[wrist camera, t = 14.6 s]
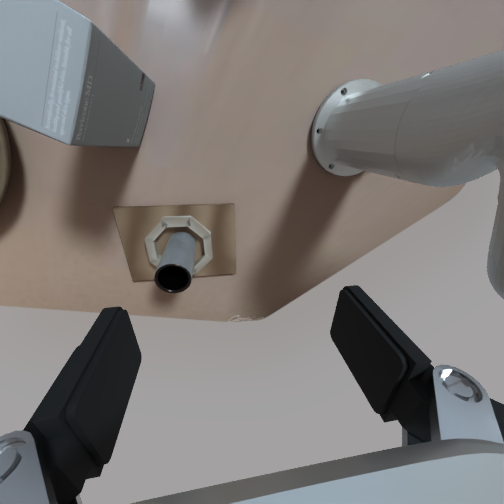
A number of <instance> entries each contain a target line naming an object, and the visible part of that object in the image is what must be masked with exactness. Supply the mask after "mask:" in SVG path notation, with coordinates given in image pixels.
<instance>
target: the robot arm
mask: <svg viewBox="0 0 504 504" xmlns="http://www.w3.org/2000/svg"><path fill="white" fill-rule="evenodd" d="M341 91H342V94H341ZM317 129H318V133H317ZM312 148H313V152H314V155H315V158H316V159H317V161H318V163H319V164H320V165H321V166H322V167H323V168H324V169H325V170H326V171H328V172H330V173H332V174H335V175H339V176H351V175H356V174H358V173H361V172H363V171H368V172H372V173H376V174H380V175H384V176H389V177H393V178H397V179H401V180H405V181H410V182H414V183H419V184H423V185H428V186H435V187H448V186H455V185H460V184H463V183H467V182H470V181H472V180H475V179H478V178H480V177H482V176H484V175H486V174H488V173H490V172H492V171H494V170H496V169H498V170H499V172H500V187H499V194H498V206H497V211H496V216H495V221H494V226H493V231H492V236H491V241H490V246H489V252H488V260H487V272H488V277H489V280H490V283H491V284H492V286H493V288H494V289H495V291H496V292H497V293H498V294H499V295H500V296H501V297H502V298H503V299H504V50H501V51H498V52H495V53H491V54H488V55H485V56H482V57H479V58H475V59H472V60H468V61H465V62H462V63H458V64H455V65H452V66H448V67H445V68H441V69H438V70H434V71H431V72H427V73H424V74H420V75H417V76H413V77H410V78H407V79H403V80H400V81H396V82H393V83H389V84H386V85H381V84H379V83H377V82H375V81H373V80H369V79H356V80H353V81H350V82H347V83H345V84H343V85H341V86H339V87H338V88H336V89H335V90H333V91H332V92H331V93H330V94H329V95H328V96H327V97H326V99H325V100H324V102H323V103H322V104H321V106H320V108H319V110H318V112H317V114H316V116H315V120H314V123H313V127H312ZM329 165H330V167H329ZM330 334H331V338H332V340H333V342H334V343H335V345H336V347H337V348H338V350H339V352H340V354H341V355H342V357H343V359H344V360H345V362H346V364H347V365H348V367H349V369H350V371H351V372H352V374H353V376H354V377H355V379H356V381H357V383H358V384H359V386H360V387H361V389H362V391H363V393H364V394H365V396H366V398H367V400H368V401H369V403H370V405H371V407H372V408H373V410H374V411H375V412H376V413H378V414H380V416H381V418H382V419H383V421H384V422H388V421H394V420H398V421H399V423H400V424H401V426H402V447H397V448H392V449H387V450H382V451H377V452H372V453H367V454H363V455H357V456H353V457H348V458H343V459H338V460H333V461H328V462H323V463H318V464H314V465H309V466H304V467H299V468H295V469H290V470H285V471H280V472H275V473H271V474H266V475H261V476H257V477H252V478H247V479H242V480H237V481H233V482H228V483H223V484H219V485H214V486H209V487H205V488H200V489H195V490H191V491H186V492H182V493H177V494H173V495H168V496H163V497H158V498H154V499H149V500H144V501H140V502H136V503H132V504H504V404H501V403H499V402H497V401H495V400H493V399H490V398H489V397H488V394H487V392H486V390H485V389H484V388H483V387H482V386H481V384H480V383H479V382H478V381H476V380H475V379H474V378H473V377H471V376H470V375H469V374H467V373H466V372H464V371H462V370H460V369H458V368H455V367H451V366H449V365H439V366H436V367H435V368H434V367H433V366H432V365H431V364H430V363H431V360H430V359H429V358H428V357H427V356H426V355H425V354H424V353H423V352H422V351H421V350H420V349H419V348H418V347H417V346H416V345H415V344H414V343H413V341H412V340H410V338H409V337H408V336H407V335H406V334H405V333H404V332H403V331H402V330H401V329H400V328H399V327H398V326H397V325H396V324H395V323H394V322H393V321H392V320H391V319H390V318H389V317H388V316H387V315H386V314H385V313H384V312H383V310H381V309H380V307H379V306H378V305H377V304H376V303H375V302H374V301H373V300H372V299H371V298H370V297H369V296H368V295H367V294H366V293H365V292H364V291H363V290H362V289H361V288H360V287H359V286H357V285H356V286H346V287H344V288H343V290H341V291H340V294H339V298H338V302H337V306H336V310H335V314H334V318H333V322H332V327H331V330H330ZM140 363H141V352H140V349H139V346H138V343H137V340H136V336H135V333H134V330H133V327H132V324H131V321H130V318H129V315H128V312H127V310H123V309H122V308H121V307H111V308H104V309H103V310H102V311H101V313H100V315H99V317H98V318H97V319H96V321H95V323H94V324H93V326H92V327H91V329H90V331H89V332H88V334H87V335H86V337H85V339H84V340H83V342H82V343H81V345H80V346H78V347H77V348H76V349H75V351H74V352H73V353H72V355H71V357H70V358H69V360H68V361H67V363H66V364H65V366H64V367H63V369H62V370H61V372H60V374H59V375H58V377H57V378H56V380H55V381H54V383H53V385H52V386H51V388H50V389H49V391H48V393H47V394H46V396H45V397H44V399H43V400H42V402H41V403H40V405H39V406H38V408H37V410H36V411H35V413H34V414H33V416H32V418H31V419H30V421H29V422H28V424H27V425H26V427H25V428H24V430H22V431H14V432H11V433H8V434H5V435H3V436H1V437H0V504H82V501H81V498H80V495H79V494H80V493H81V491H82V488H83V485H84V483H85V480H86V479H89V478H94V477H99V476H100V475H101V472H102V469H103V466H104V464H107V463H108V462H109V460H110V458H111V456H112V453H113V449H114V446H115V443H116V440H117V437H118V434H119V430H120V427H121V424H122V421H123V418H124V414H125V411H126V408H127V405H128V402H129V399H130V395H131V392H132V389H133V386H134V383H135V379H136V376H137V373H138V370H139V367H140Z"/></svg>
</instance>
